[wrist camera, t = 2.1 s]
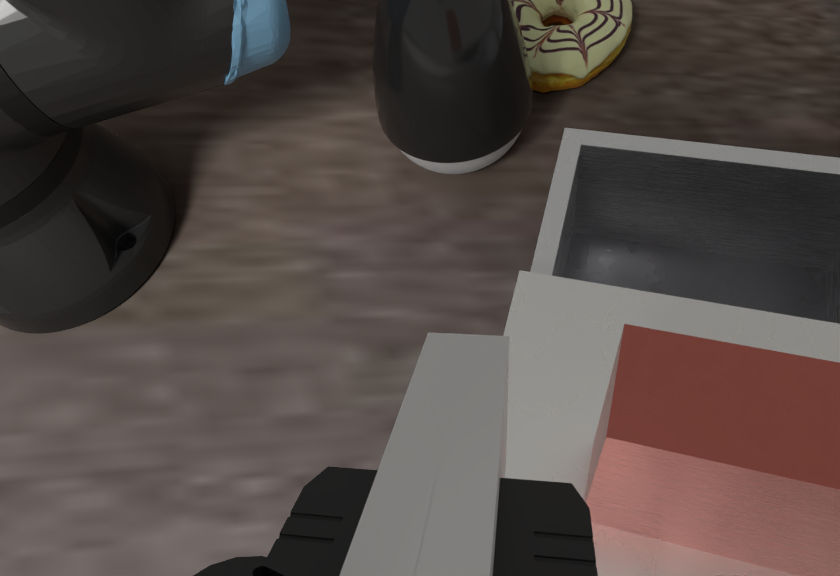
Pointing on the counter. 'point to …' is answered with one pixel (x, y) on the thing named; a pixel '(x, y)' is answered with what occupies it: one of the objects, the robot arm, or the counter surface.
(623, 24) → the decorated donut
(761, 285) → the grey storage bin
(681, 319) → the lid
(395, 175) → the counter surface
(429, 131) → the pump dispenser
